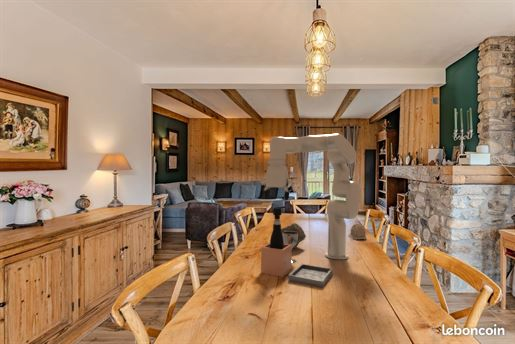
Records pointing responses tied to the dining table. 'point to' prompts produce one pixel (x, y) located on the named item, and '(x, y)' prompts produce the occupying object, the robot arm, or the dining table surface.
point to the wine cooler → (276, 260)
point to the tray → (311, 275)
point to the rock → (297, 229)
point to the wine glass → (290, 239)
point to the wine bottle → (277, 231)
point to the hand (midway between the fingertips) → (276, 199)
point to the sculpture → (357, 232)
